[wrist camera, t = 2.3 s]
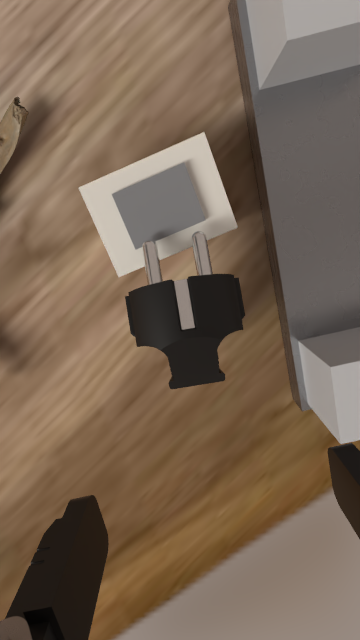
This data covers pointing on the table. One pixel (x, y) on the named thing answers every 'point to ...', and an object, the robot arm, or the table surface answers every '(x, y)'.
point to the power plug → (186, 315)
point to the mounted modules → (287, 66)
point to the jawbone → (11, 130)
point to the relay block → (159, 203)
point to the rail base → (306, 195)
